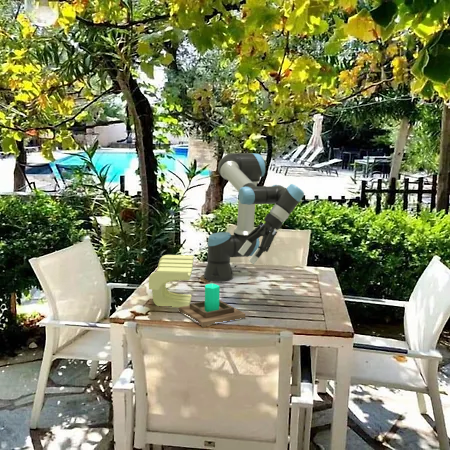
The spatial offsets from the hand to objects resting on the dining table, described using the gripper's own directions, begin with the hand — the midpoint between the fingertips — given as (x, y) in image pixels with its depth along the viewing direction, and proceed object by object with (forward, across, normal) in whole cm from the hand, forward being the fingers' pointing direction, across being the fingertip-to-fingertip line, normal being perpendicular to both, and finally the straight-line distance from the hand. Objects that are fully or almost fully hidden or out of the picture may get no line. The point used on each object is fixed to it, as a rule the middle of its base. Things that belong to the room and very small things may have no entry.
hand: (245, 258), depth 214 cm
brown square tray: (+27, -3, -2) cm, 27 cm away
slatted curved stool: (+36, +17, +8) cm, 40 cm away
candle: (+26, -3, -1) cm, 26 cm away
